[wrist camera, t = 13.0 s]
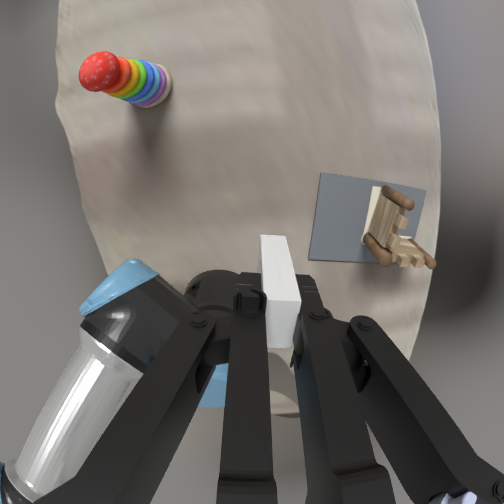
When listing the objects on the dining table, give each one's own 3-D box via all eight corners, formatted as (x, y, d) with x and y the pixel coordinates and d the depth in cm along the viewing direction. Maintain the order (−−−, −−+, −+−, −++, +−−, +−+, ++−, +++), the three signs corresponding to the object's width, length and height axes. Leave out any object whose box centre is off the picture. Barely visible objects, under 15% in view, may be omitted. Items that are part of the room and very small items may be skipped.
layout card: (405, 263, 51) (406, 264, 50) (308, 258, 50) (308, 259, 50) (425, 190, 43) (426, 190, 43) (320, 172, 43) (321, 173, 43)
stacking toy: (173, 61, 34) (124, 28, 18) (173, 105, 38) (121, 95, 21) (130, 69, 34) (66, 49, 18) (129, 111, 38) (63, 111, 21)
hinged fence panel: (367, 230, 47) (387, 252, 39) (382, 183, 43) (407, 198, 35) (375, 232, 47) (396, 254, 39) (390, 186, 43) (416, 201, 35)
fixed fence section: (409, 247, 49) (433, 270, 40) (360, 242, 49) (380, 268, 40) (412, 236, 48) (438, 258, 39) (362, 231, 48) (384, 255, 39)
